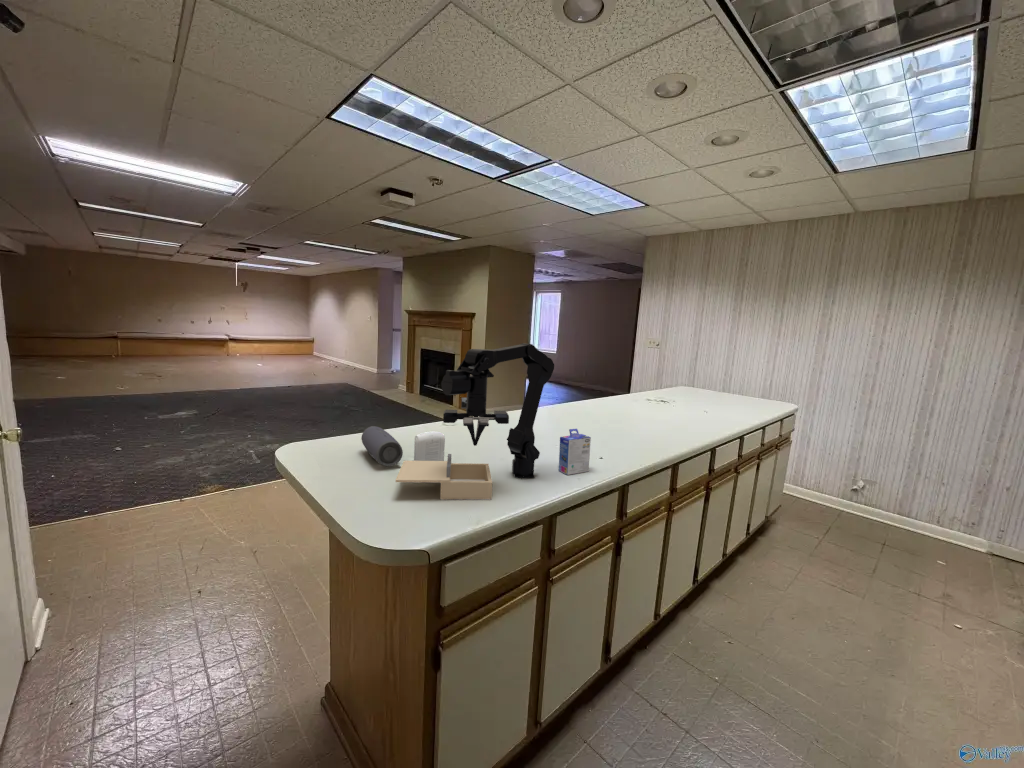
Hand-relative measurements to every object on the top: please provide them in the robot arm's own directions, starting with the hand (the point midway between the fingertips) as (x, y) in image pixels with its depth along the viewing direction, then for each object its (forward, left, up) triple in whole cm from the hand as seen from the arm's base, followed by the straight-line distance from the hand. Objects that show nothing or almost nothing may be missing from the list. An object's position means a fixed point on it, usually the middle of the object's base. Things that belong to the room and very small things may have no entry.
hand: (475, 445), depth 122 cm
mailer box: (+2, +1, -13) cm, 13 cm away
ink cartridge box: (-35, -15, -13) cm, 40 cm away
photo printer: (+14, -17, -13) cm, 26 cm away
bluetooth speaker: (+31, -25, -13) cm, 42 cm away
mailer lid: (+14, +1, -8) cm, 16 cm away
